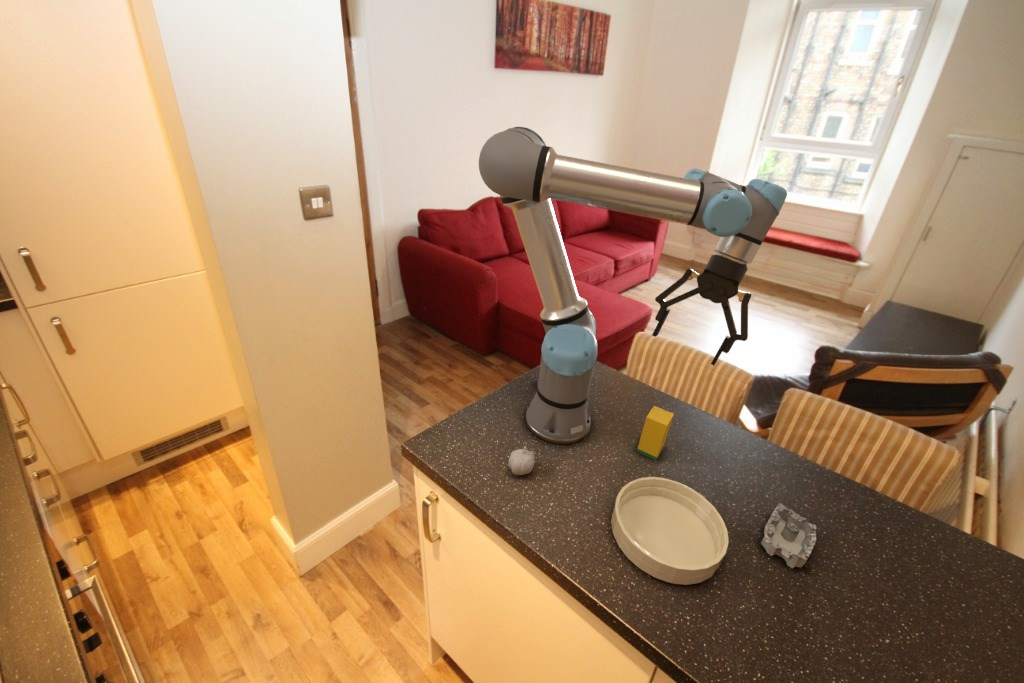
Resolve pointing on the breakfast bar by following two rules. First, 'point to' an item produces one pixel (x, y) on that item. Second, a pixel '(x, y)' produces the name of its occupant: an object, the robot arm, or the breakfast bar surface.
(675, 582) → the pan
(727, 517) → the breakfast bar surface
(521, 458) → the garlic
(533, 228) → the robot arm
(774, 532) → the egg carton
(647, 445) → the sponge
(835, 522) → the breakfast bar surface
